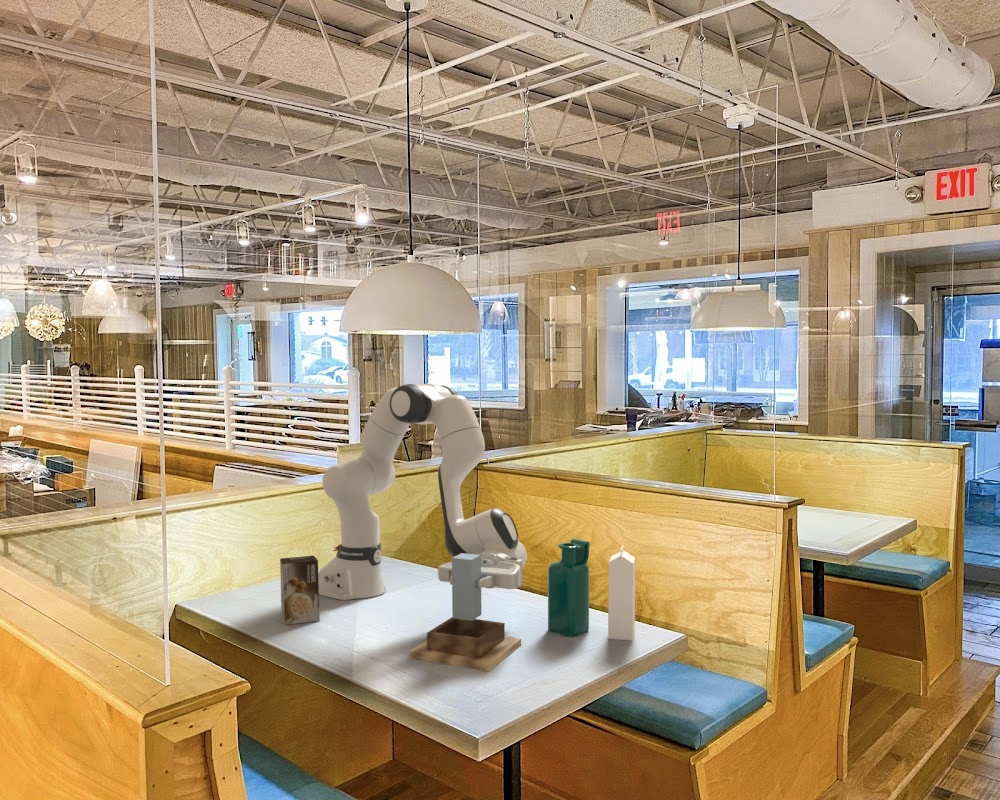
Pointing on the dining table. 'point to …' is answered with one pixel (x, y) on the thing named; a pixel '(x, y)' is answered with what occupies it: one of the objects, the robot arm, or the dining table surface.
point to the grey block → (466, 586)
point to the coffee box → (299, 590)
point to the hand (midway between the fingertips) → (465, 583)
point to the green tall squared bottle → (569, 590)
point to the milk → (621, 596)
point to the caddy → (467, 644)
